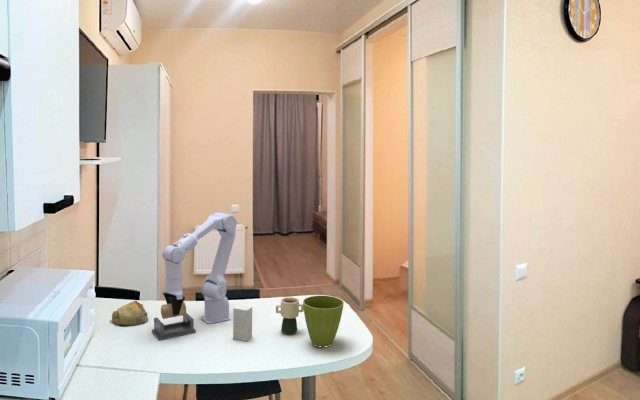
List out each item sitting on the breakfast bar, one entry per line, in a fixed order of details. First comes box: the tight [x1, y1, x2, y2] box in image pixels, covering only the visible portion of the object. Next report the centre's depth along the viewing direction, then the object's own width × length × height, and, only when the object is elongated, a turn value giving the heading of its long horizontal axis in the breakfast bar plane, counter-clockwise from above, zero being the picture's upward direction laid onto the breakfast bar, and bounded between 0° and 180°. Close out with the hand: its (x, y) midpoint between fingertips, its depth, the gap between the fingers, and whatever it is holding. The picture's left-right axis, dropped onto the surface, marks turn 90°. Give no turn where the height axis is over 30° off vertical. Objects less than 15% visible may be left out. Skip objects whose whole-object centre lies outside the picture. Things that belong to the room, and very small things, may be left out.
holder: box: [151, 312, 197, 341], centre depth 182 cm, size 14×9×6 cm, turn 125°
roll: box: [160, 301, 187, 320], centre depth 182 cm, size 8×5×5 cm, turn 125°
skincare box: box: [232, 304, 253, 342], centre depth 179 cm, size 6×4×12 cm
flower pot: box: [302, 295, 345, 348], centre depth 176 cm, size 15×15×16 cm
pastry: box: [111, 300, 149, 326], centre depth 192 cm, size 14×12×8 cm
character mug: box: [275, 296, 304, 335], centre depth 186 cm, size 11×7×13 cm, turn 102°
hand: (173, 312), depth 182 cm, fingers closed on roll, 5 cm apart
